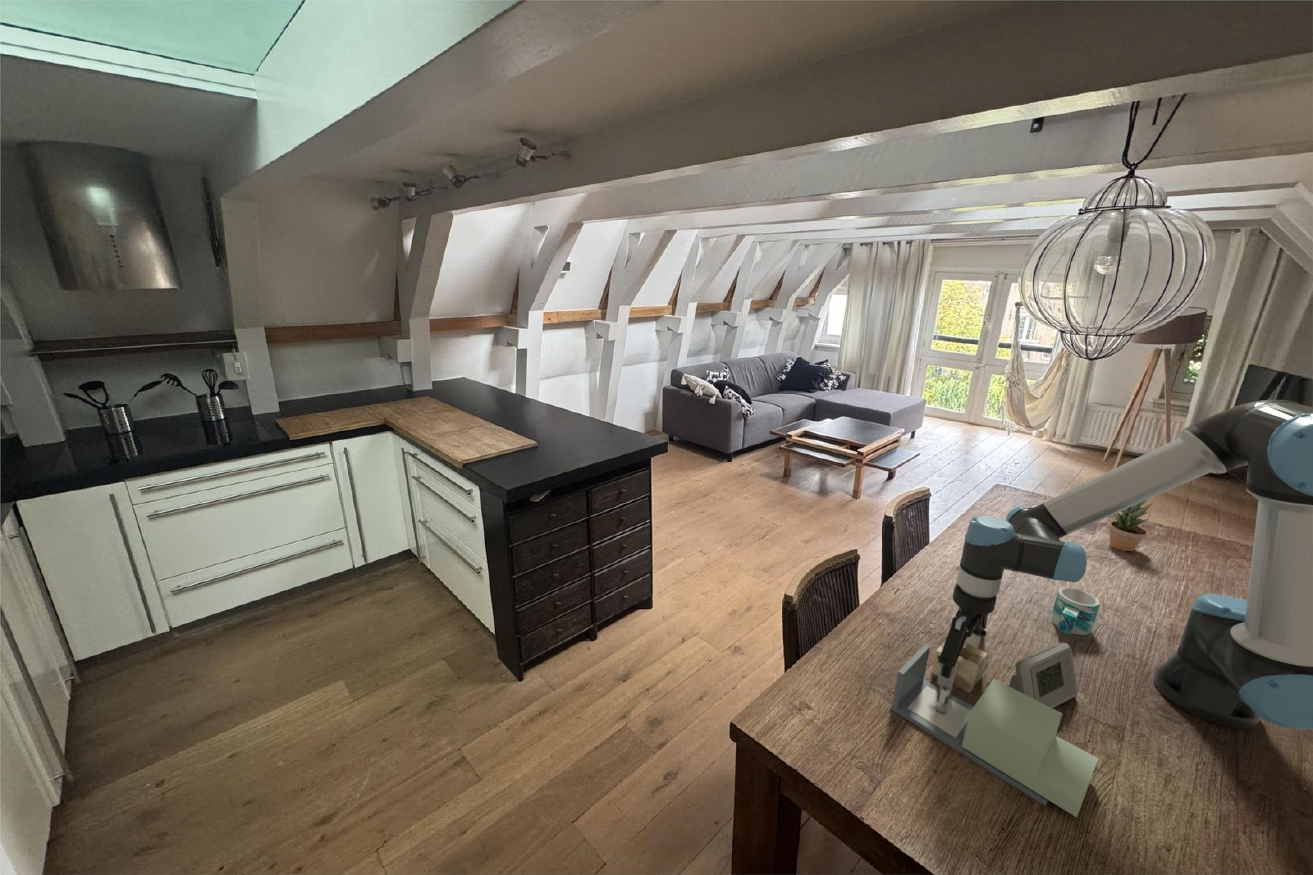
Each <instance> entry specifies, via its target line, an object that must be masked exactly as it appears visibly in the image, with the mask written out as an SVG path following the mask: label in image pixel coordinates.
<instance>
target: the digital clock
mask: <svg viewBox="0 0 1313 875" xmlns="http://www.w3.org/2000/svg"><path fill="white" fill-rule="evenodd" d="M1008 686H1009V687H1011V688H1013V689H1015V690H1017V691H1019V692H1021V693H1023V694H1025V695H1027V696H1029V697H1031V698H1033V699H1035V700H1037V701H1039V702H1041V703H1043V704H1045V705H1047V706H1049V707H1050V708H1052V709H1054V708H1056V707H1057V706H1060V705H1061V704H1063V703H1066V702H1067V701H1069V700H1071V699H1073V698H1074V697H1076V696H1077V695H1078V694H1079V690H1078V683H1077V677H1076V671H1075V663H1074V658H1073V651H1072V648H1071V646H1070V645H1069V644H1068V643H1067V642H1058V643H1055V644H1052V645H1050V646H1048V647H1046V648H1044V649H1042V650H1040V651H1037V652H1034V653H1032V654H1030V655H1028V656H1026V657H1024V658H1022V659H1020V660H1018V661H1016V662H1015V673H1014V674H1013V675H1011V677H1010V681H1009V685H1008Z"/></svg>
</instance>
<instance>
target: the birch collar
mask: <svg viewBox="0 0 1313 875" xmlns="http://www.w3.org/2000/svg"><path fill="white" fill-rule="evenodd" d="M945 641H946V639H945V640H944V641H943V642H942V643H941V645H940V646H938V647H937V649H936V650H935V655H934V660H933V664H932V668H931V669H932V670H931V674H933V675H935V676H937V677H938V675H939V671H940V667H941V663H940V662H938V655H939V656H940V655H941V652H942V649H943V647H944V644H945ZM987 657H988V653H987V652H986V651H984V650H982V649H980V648H979V647H978V648H976V647H974V646H971V645H969V644H967V643H965V644H964V646H963V648H962V651H961V653H960V655H959V658H958V660H957V662H956V664H958V665H957V669H956V673H955V677H954V681H953V685H954V686H955V687H957V688H959V689H961V690H962V691H964V692H966V693H968V694H971V692H972V690H973V689H974V688H975V686H976V685H977V683H979V681H980V680H981V678H982V677H983V674H984V669H985V666H986V662H987Z"/></svg>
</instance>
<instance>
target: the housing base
mask: <svg viewBox="0 0 1313 875" xmlns="http://www.w3.org/2000/svg"><path fill="white" fill-rule="evenodd" d="M930 649H931V645H928V644H927V643H925V644H923V645H922V647H921V648H919V650H917V651H916V652H915V654H913V656H912V657H911V658H910V659H909V660H908V661H907V662H906V663H905V664H904V665H903V666H902V667H901V668H900V669H899V670H898V671H897V677H896V683H895V688H894V694H893V699H892V703H891V705H890V710H891V711H893V712H894V713H896V714H898V715H899V716H900V717H903V718H904V719H905V720H907V721H909V722H911V723H912V724H914V725H915V726H917V727H919V728H920V729H921V730H923V731H924V732H926V733H927V734H928V733H929V735H931V736H933V737H935V738H936V739H937V740H939V741H941V742H942V743H944V744H945V745H947V746H948V747H949V748H952V749H953V750H955V751H957V753H960V754H962V756H965V757H966V758H968V759H970V760H971V761H972V762H974V763H976V764H977V765H979V766H981V767H982V768H984V769H986V770H987V771H989V772H990V773H992V774H994V775H996V776H997V778H1000V779H1001V780H1003V781H1004V782H1006V783H1008V784H1010V785H1011V786H1012V787H1014V788H1016V789H1018V790H1019V791H1020V792H1022V793H1024V794H1025V795H1027V796H1028V797H1030V798H1032V799H1033V800H1035V801H1037V802H1038V803H1039V804H1042V805H1043V806H1044V807H1047V806H1048V805H1047V804H1048V802H1049V800H1048V799H1046V798H1044V797H1043V796H1041V795H1040V794H1038V793H1036V792H1035V791H1033V790H1031V789H1030V788H1028V787H1027V786H1025V785H1023V784H1022V783H1020V782H1019V781H1017V780H1015V779H1014V778H1012V777H1010V776H1009V775H1007V774H1006V773H1004V772H1002V771H1001V770H999V769H997V768H996V767H994V766H993V765H991V764H989V763H988V762H986V761H984V760H983V759H981V758H980V757H978V756H976V755H975V754H973V753H972V752H970V751H968V750H967V749H965V748H963V747H962V744H963V740H964V735H965V731H966V727H967V723H968V719H969V715H970V711H971V710H972V708H973V707H974V706H973V705H971V704H969V703H968V702H966V701H964V700H962V699H961V698H959V697H957V696H955V695H953V694H952V693H950V698H949V702H948V707H947V711H946V714H940V713H938V712H937V711H936V710H935V705H936V700H937V695H938V691H939V687H940V686H937V684H936V685H935V684H933V683H932V682H931V681H928V680H927V679H925V675H926V669H927V665H928V659H929V654H930Z"/></svg>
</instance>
